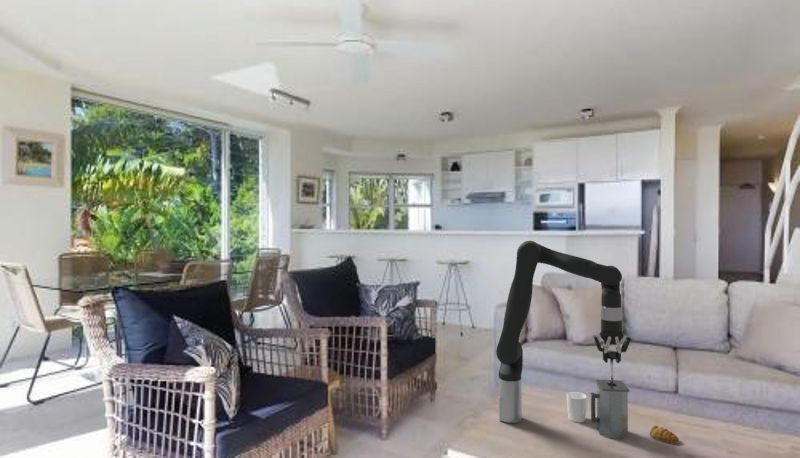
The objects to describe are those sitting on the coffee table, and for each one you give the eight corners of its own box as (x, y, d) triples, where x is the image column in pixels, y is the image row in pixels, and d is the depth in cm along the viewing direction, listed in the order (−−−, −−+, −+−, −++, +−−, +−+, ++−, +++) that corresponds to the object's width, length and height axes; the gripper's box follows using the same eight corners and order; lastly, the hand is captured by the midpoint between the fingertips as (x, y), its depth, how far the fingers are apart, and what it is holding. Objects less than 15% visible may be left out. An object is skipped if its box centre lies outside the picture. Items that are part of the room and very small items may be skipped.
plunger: (603, 394, 178) (603, 354, 178) (598, 386, 186) (598, 348, 186) (626, 395, 177) (625, 355, 176) (619, 387, 185) (619, 349, 184)
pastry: (682, 441, 174) (682, 431, 174) (673, 447, 170) (673, 437, 170) (656, 432, 182) (656, 422, 182) (647, 437, 178) (647, 427, 178)
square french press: (594, 437, 178) (594, 388, 178) (588, 425, 188) (588, 379, 187) (630, 439, 176) (630, 389, 175) (622, 427, 186) (621, 380, 185)
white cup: (583, 415, 198) (583, 391, 198) (589, 423, 190) (589, 399, 190) (564, 414, 199) (564, 391, 198) (569, 423, 191) (569, 398, 191)
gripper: (594, 319, 178) (594, 364, 178) (634, 320, 176) (634, 366, 176) (589, 315, 185) (590, 358, 186) (627, 316, 183) (628, 359, 184)
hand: (611, 362), depth 181 cm, fingers closed on plunger, 3 cm apart
